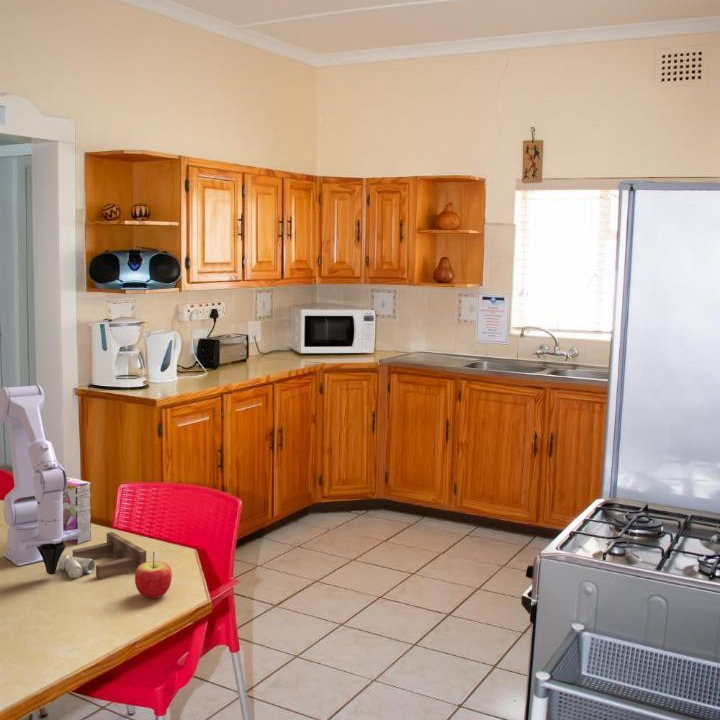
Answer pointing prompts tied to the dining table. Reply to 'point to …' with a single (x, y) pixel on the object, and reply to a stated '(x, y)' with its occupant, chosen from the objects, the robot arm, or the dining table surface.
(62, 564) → the pipe fitting
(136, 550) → the fitting jig
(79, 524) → the candy bar box
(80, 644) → the dining table surface
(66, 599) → the dining table surface
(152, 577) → the apple
